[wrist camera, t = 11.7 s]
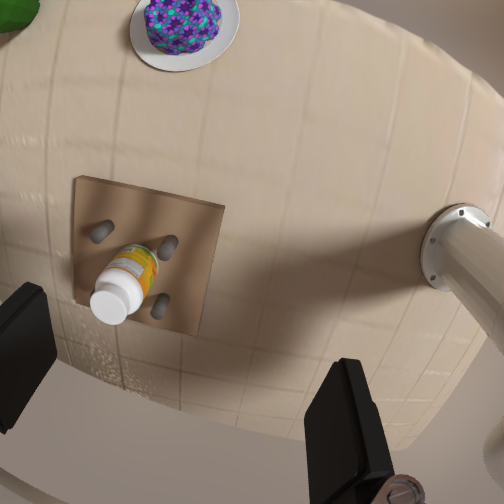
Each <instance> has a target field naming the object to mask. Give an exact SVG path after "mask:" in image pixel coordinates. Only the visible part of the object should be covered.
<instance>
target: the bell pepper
mask: <svg viewBox="0 0 504 504" xmlns="http://www.w3.org/2000/svg"><path fill="white" fill-rule="evenodd" d="M38 1H39V0H0V33H5V32H10V31H14V30H18V29H22V28H23V27H25V26H26V25H27V24H29V23H30V22H31V21H32V20H33V19H34V17H35V16H36V14H37V13H38V10H39V7H40V3H39V2H38Z"/></svg>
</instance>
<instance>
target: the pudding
mask: <svg viewBox="0 0 504 504" xmlns="http://www.w3.org/2000/svg"><path fill="white" fill-rule="evenodd" d="M216 1H217V3H218V4H219V6H220V8H221V11H222V17H223V18H222V25H221V29H220V31H219V27H218V25H217V22H218V21H219V19H220V18H221V11H220V9H219V7H218V6H216V5H214V4H213V3H212V0H141V1H140V3H139V4H138V5H137V7H136V9H135V11H134V13H133V16H132V19H131V23H130V39H131V42H132V45H133V47H134V49H135V51H136V53H137V54H138V55H139V56H140V57H141V59H143V60H144V61H145V62H146V63H148V64H149V65H151V66H153V67H155V68H158V69H162V70H166V71H186V70H191V69H195V68H198V67H201V66H203V65H205V64H207V63H209V62H211V61H213V60H214V59H215V58H217V57H218V56H219V55H221V54H222V53H223V52H224V51H225V50H226V49H227V47H228V46H229V45H230V43H231V42H232V41H233V39H234V37H235V35H236V32H237V29H238V26H239V17H240V14H239V7H238V4H237V2H236V0H216ZM146 29H147V30H146ZM147 31H148V34H149V37H150V40H151V42H152V44H153V45H154V46H156V47H163V48H164V50H165V52H166V53H168V54H170V55H168V54H164V53H162V52H160V51H159V50H157V49H156V48H155V47H154V46H153V45H152V44H151V42H150V40H149V39H148V35H147ZM218 31H219V33H218ZM217 34H218V35H217ZM216 35H217V36H216ZM215 36H216V38H215V39H214V37H215ZM212 39H214V40H213V41H212V42H211V43H210V44H209V45H208V46H207V47H205V48H204V49H202V48H203V46H204V44H205V42H206V41H209V40H212ZM200 49H202V50H200ZM199 50H200V51H199ZM183 51H186V52H189V53H193V54H190V55H186V56H171V55H179V54H180V53H182V52H183ZM194 52H196V53H194Z"/></svg>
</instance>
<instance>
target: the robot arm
mask: <svg viewBox="0 0 504 504" xmlns="http://www.w3.org/2000/svg"><path fill="white" fill-rule="evenodd" d="M420 263H421V268H422V272H423V274H424V276H425V278H426V279H427V280H428V282H429V283H430V284H431V285H432V286H433V287H435V288H436V289H438V290H442V291H452V292H453V293H454V294H455V296H456V297H457V298H458V299H459V300H460V301H461V303H462V304H463V305H464V306H465V307H466V309H467V310H468V311H469V312H470V314H471V315H472V316H473V317H474V318H475V320H476V321H477V322H478V323H479V325H480V326H481V327H482V329H483V330H484V331H485V332H486V334H487V335H488V336H489V338H490V339H491V340H492V341H493V343H494V344H495V345H496V347H497V348H498V349H499V351H500V352H501V353H502V354H503V355H504V238H503V237H501V236H500V235H499V234H497V233H496V232H494V229H493V225H492V222H491V220H490V218H489V216H488V215H487V214H486V213H485V212H484V211H483V210H481V209H480V208H478V207H476V206H474V205H471V204H459V205H455V206H452V207H451V208H449V209H447V210H445V211H444V212H443V213H442V214H440V215H439V216H438V217H437V219H436V220H435V221H434V222H433V223H432V225H431V226H430V228H429V229H428V231H427V233H426V236H425V238H424V241H423V244H422V247H421V254H420ZM56 357H57V349H56V344H55V340H54V335H53V330H52V325H51V319H50V314H49V308H48V301H47V295H46V293H45V292H44V291H43V288H42V287H41V286H38V285H36V284H33V283H30V282H26V283H24V284H23V285H22V286H21V287H20V288H19V289H18V290H16V291H15V292H14V293H13V294H12V295H11V296H10V297H9V298H8V299H7V300H6V301H5V302H4V303H3V304H2V305H1V306H0V432H1V433H3V434H5V433H6V432H7V430H8V429H11V428H13V426H14V425H15V423H16V421H17V420H18V418H19V416H20V415H21V413H22V411H23V410H24V408H25V406H26V405H27V403H28V402H29V400H30V398H31V397H32V395H33V394H34V392H35V390H36V389H37V387H38V386H39V384H40V383H41V381H42V380H43V378H44V377H45V375H46V373H47V372H48V371H49V369H50V368H51V366H52V364H53V363H54V361H55V360H56ZM304 427H305V440H306V451H307V452H306V453H307V466H308V481H309V497H310V504H425V503H424V501H425V492H424V490H423V487H422V485H421V484H420V483H419V481H417V480H416V479H415V478H413V477H411V476H409V475H403V474H399V475H395V473H394V469H393V465H392V461H391V457H390V453H389V449H388V445H387V441H386V437H385V434H384V430H383V426H382V423H381V419H380V416H379V412H378V409H377V406H376V404H375V403H374V402H373V401H372V398H371V395H370V391H369V388H368V385H367V381H366V378H365V375H364V371H363V368H362V365H361V362H360V361H359V360H356V359H348V358H341V359H340V360H339V361H338V362H334V363H333V364H332V366H331V368H330V370H329V372H328V374H327V376H326V377H325V379H324V381H323V383H322V385H321V386H320V388H319V390H318V392H317V394H316V395H315V397H314V399H313V401H312V402H311V404H310V406H309V408H308V409H307V411H306V413H305V417H304ZM483 458H484V463H485V466H486V468H487V471H488V473H489V474H490V476H491V477H492V479H493V480H494V482H495V483H496V484H497V485H498V487H499V488H500V489H501V490H502V491H503V492H504V415H503V416H502V417H501V418H500V420H499V421H498V422H497V423H496V424H495V425H494V427H493V428H492V429H491V431H490V432H489V434H488V436H487V438H486V440H485V443H484V447H483ZM0 504H68V503H66V502H64V501H62V500H59V499H57V498H55V497H53V496H51V495H49V494H47V493H45V492H43V491H41V490H39V489H37V488H35V487H33V486H31V485H29V484H28V483H26V482H24V481H22V480H20V479H18V478H17V477H15V476H13V475H12V474H10V473H8V472H7V471H5V470H4V469H2V468H0Z"/></svg>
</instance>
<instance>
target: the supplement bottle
mask: <svg viewBox="0 0 504 504" xmlns="http://www.w3.org/2000/svg"><path fill="white" fill-rule="evenodd" d="M157 274H158V262H157V259H156V257H155V255H154V254H153V253H152V252H151V251H150V250H149V249H148V248H146V247H144V246H142V245H137V244H132V245H128V246H126V247H124V248H123V249H122V250H121V251H120V252H119V253H118V254H117V255H116V256H115V257H114V259H113V260H112V261H111V262H110V263H109V265H108V266H107V267H106V268H105V269H104V270H103V272H102V273H101V274H100V275H99V277H98V278H97V281H96V284H95V292H94V293H93V295H92V296H91V299H90V306H91V309H92V311H93V313H94V315H95V316H96V317H97V318H98V319H99V320H101V321H102V322H104V323H107V324H110V325H117V324H120V323H122V322H123V321H124V320H125V318H126V316H127V315H129V314H132V313H134V312H135V311H136V310H137V309H138V308H139V307H140V305H141V304H142V302H143V300H144V298H145V296H146V294H147V293H148V291H149V289H150V287H151V285H152V284H153V282H154V280H155V278H156V276H157Z"/></svg>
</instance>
